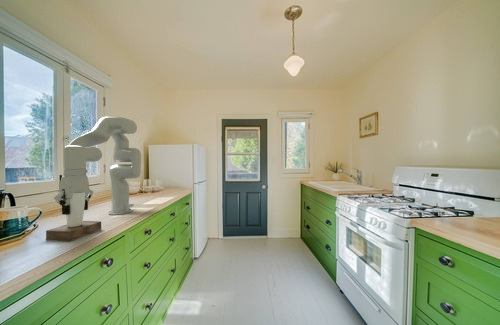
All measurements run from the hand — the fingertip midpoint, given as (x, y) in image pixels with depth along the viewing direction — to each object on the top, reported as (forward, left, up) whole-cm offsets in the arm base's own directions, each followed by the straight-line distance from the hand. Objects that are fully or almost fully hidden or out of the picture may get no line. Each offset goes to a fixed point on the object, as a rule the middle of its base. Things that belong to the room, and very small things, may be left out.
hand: (75, 211), depth 87 cm
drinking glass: (+1, 0, -6) cm, 6 cm away
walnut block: (0, 0, -10) cm, 10 cm away
